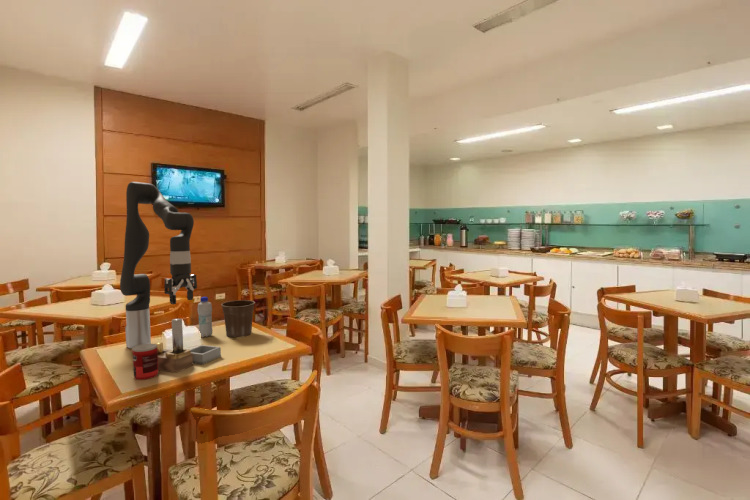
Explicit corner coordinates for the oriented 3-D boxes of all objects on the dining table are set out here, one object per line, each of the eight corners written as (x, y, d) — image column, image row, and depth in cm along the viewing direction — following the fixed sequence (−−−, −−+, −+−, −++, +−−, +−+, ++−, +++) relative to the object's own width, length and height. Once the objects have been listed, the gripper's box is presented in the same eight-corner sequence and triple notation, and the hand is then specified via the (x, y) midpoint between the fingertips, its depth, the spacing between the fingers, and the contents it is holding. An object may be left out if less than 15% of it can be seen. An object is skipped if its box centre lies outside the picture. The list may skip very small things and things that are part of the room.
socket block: (145, 367, 150) (144, 351, 150) (162, 360, 158) (161, 345, 157) (177, 372, 145) (176, 355, 144) (193, 365, 152) (193, 349, 152)
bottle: (207, 338, 189) (206, 298, 188) (195, 337, 190) (193, 297, 189) (215, 334, 196) (214, 295, 194) (204, 334, 197) (202, 295, 196)
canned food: (140, 372, 145) (138, 343, 145) (162, 371, 146) (161, 343, 145) (129, 380, 138) (127, 350, 137) (152, 379, 138) (151, 349, 138)
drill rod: (170, 356, 148) (169, 320, 147) (178, 353, 152) (177, 318, 151) (178, 357, 147) (176, 321, 146) (185, 354, 150) (184, 319, 150)
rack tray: (183, 361, 157) (183, 352, 156) (202, 353, 166) (201, 344, 166) (202, 364, 153) (202, 354, 153) (220, 356, 163) (220, 347, 162)
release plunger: (153, 357, 152) (152, 344, 152) (159, 355, 155) (159, 342, 154) (158, 358, 151) (158, 344, 151) (165, 356, 154) (164, 342, 153)
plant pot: (262, 333, 196) (261, 302, 196) (232, 341, 184) (231, 307, 183) (245, 328, 207) (244, 298, 206) (216, 335, 195) (215, 303, 194)
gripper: (186, 260, 163) (188, 298, 164) (158, 263, 150) (159, 304, 151) (201, 260, 161) (202, 299, 162) (173, 264, 147) (174, 306, 148)
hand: (181, 302), depth 156 cm, fingers open, 8 cm apart
